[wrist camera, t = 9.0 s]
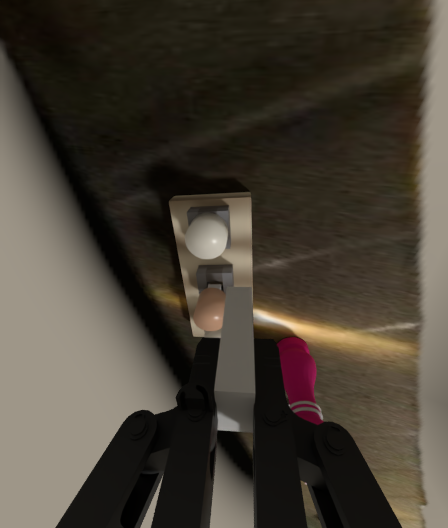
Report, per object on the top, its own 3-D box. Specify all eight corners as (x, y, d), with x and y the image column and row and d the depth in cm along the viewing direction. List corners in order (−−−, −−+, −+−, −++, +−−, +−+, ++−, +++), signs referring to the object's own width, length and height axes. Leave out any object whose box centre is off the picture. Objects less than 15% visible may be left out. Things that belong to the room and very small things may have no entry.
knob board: (174, 195, 35) (162, 206, 30) (250, 191, 34) (251, 202, 29) (196, 324, 47) (190, 347, 42) (253, 325, 46) (253, 348, 41)
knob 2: (205, 311, 41) (200, 335, 36) (235, 311, 41) (233, 335, 36) (208, 333, 44) (204, 357, 39) (236, 333, 43) (235, 358, 38)
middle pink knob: (200, 278, 35) (191, 306, 29) (227, 277, 34) (224, 306, 29) (203, 300, 37) (195, 331, 31) (229, 300, 36) (226, 331, 31)
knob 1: (191, 208, 32) (181, 221, 28) (228, 206, 32) (225, 219, 27) (196, 242, 35) (188, 259, 30) (230, 240, 34) (227, 258, 30)
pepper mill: (268, 356, 50) (279, 478, 32) (279, 331, 46) (298, 454, 29) (302, 363, 50) (331, 488, 33) (315, 339, 46) (357, 465, 29)
